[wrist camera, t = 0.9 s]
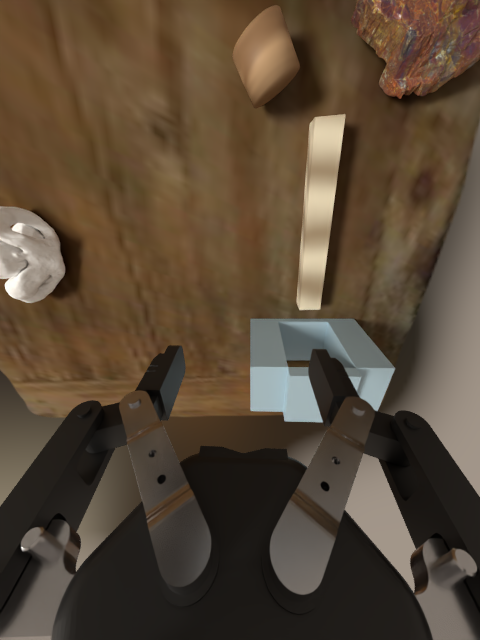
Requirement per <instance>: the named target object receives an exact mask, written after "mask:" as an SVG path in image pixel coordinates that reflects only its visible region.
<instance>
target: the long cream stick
mask: <svg viewBox="0 0 480 640" xmlns="http://www.w3.org/2000/svg"><path fill="white" fill-rule="evenodd" d="M345 115H346V114H343V115H332V116H322V117H315V118H314V119H313V121H312V122H311V123H310V126H309V139H308V153H307V167H306V180H305V194H304V208H303V222H302V235H301V249H300V263H299V277H298V290H297V305H298V307H299V310H317V309H320V306H321V298H322V291H323V283H324V275H325V268H326V260H327V253H328V245H329V237H330V230H331V222H332V214H333V207H334V199H335V192H336V184H337V176H338V169H339V161H340V154H341V146H342V138H343V131H344V123H345Z"/></svg>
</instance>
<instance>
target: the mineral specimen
mask: <svg viewBox="0 0 480 640" xmlns="http://www.w3.org/2000/svg"><path fill="white" fill-rule="evenodd" d="M351 23H352V25H353V26H354V27H355V28H357V35H359V36H360V37H362V39H363V40H365V42H367V44H369V45H370V46H371V47H373V48H374V50H376V54H377V55H378V57H380V58H383V59H384V60H385V61H386V63H387V65H386V68H385V69H384V71H383V73H382V75H381V78H380V80H379V86H380V87H381V89H383V91H384V92H385V93H386V94H387V95H389V96H393V97H395V96H397V97H398V98H399V99H401V98H402V96H403V95H404V94H405V95H410V94H411V93H412V92H414V93H415V94H417V96H419V95H421V96H425V95H427V94H428V93H432V92H435V91H437V90H438V89H439V88H440V87H441V86H442V85H443V84H445V83H446V82H448V81H449V80H450V79H452V78H453V77H457V76H459V75H461V74H462V73H463V72H464V71H465V70H467V69H468V68H470V67H471V66H473V65H474V64H475V63H476V62H478V61H479V59H480V0H357V3H356V7H355V10H354V13H353V16H352V18H351Z"/></svg>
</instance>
